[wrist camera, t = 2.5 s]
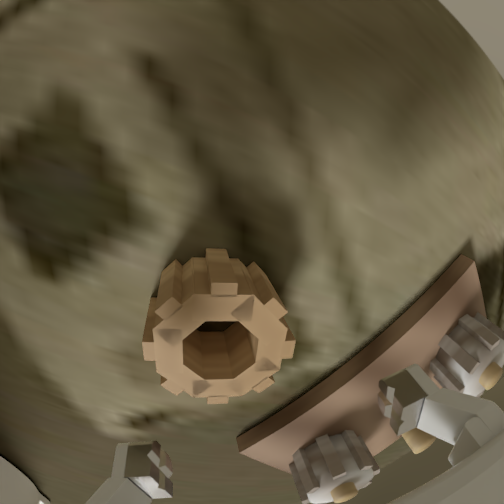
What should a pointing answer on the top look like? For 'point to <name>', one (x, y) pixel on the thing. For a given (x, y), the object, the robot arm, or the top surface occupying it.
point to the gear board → (366, 390)
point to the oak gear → (216, 343)
